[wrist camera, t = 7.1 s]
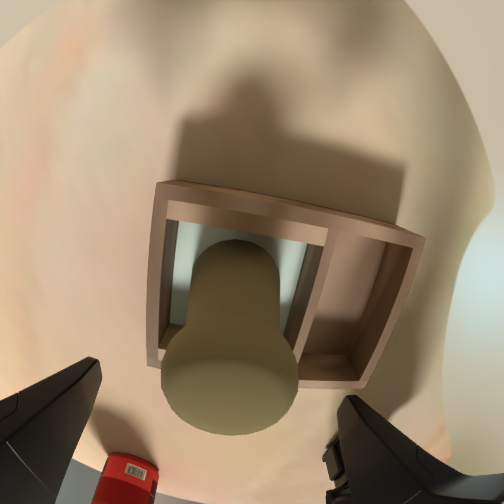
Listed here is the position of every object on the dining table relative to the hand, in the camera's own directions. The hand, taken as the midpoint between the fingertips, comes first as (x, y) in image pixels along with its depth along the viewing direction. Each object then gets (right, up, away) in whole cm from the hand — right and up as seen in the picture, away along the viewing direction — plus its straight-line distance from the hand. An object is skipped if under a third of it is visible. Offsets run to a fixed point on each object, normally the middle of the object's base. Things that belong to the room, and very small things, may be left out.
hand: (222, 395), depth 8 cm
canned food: (-16, -26, +19) cm, 36 cm away
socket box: (+3, +3, +11) cm, 12 cm away
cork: (0, +3, +10) cm, 11 cm away
